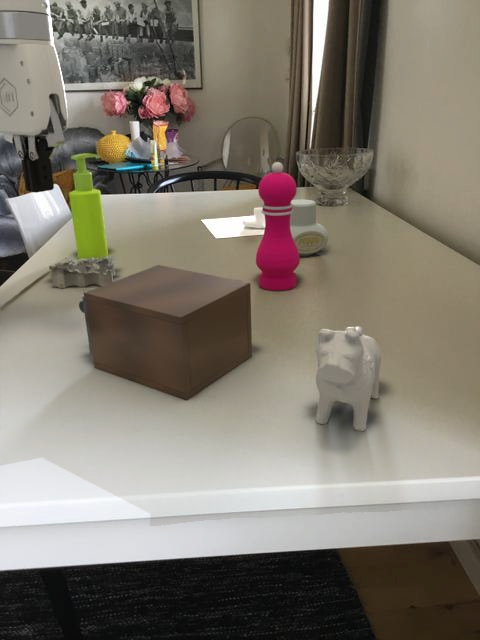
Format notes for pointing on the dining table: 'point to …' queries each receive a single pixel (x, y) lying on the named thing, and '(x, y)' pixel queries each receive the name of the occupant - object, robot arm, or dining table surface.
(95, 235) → the soap dispenser
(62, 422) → the dining table surface
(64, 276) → the egg carton
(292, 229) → the air freshener
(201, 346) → the cabinet
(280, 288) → the pepper mill
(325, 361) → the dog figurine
